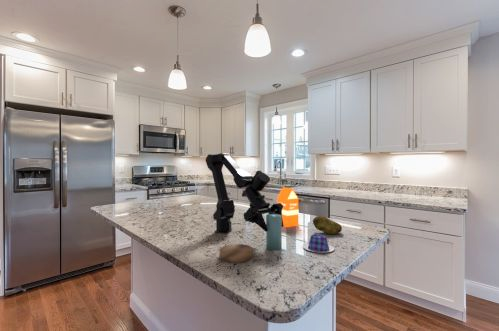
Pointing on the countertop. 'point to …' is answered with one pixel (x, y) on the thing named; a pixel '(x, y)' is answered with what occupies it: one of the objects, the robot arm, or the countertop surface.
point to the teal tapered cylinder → (274, 232)
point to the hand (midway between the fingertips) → (275, 228)
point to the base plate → (236, 253)
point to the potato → (326, 225)
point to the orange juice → (289, 206)
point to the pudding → (318, 244)
